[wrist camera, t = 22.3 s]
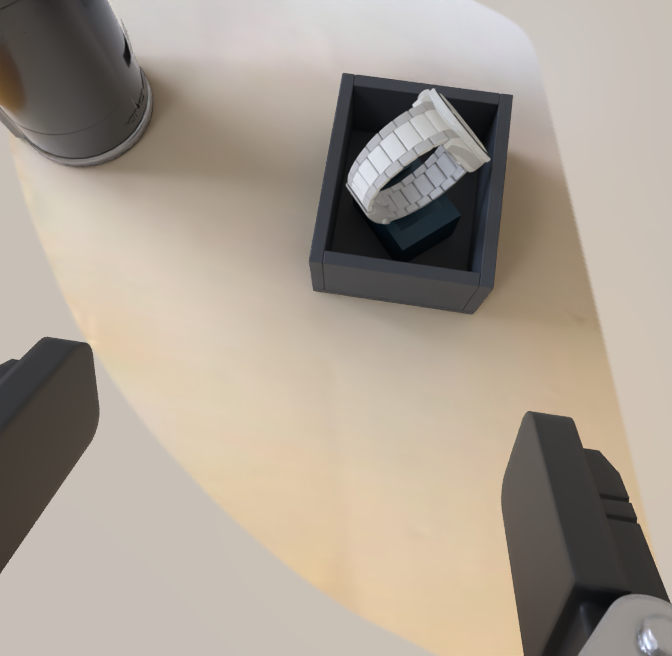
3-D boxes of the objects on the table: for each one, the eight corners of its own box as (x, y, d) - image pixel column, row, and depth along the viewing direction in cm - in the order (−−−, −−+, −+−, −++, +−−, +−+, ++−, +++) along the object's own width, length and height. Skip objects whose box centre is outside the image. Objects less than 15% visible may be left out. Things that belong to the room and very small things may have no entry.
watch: (476, 220, 41) (523, 128, 31) (375, 281, 40) (387, 208, 30) (428, 156, 42) (457, 46, 32) (329, 214, 42) (325, 121, 31)
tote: (312, 290, 41) (308, 260, 35) (342, 123, 44) (342, 72, 38) (473, 314, 40) (493, 288, 35) (491, 143, 43) (513, 94, 38)
